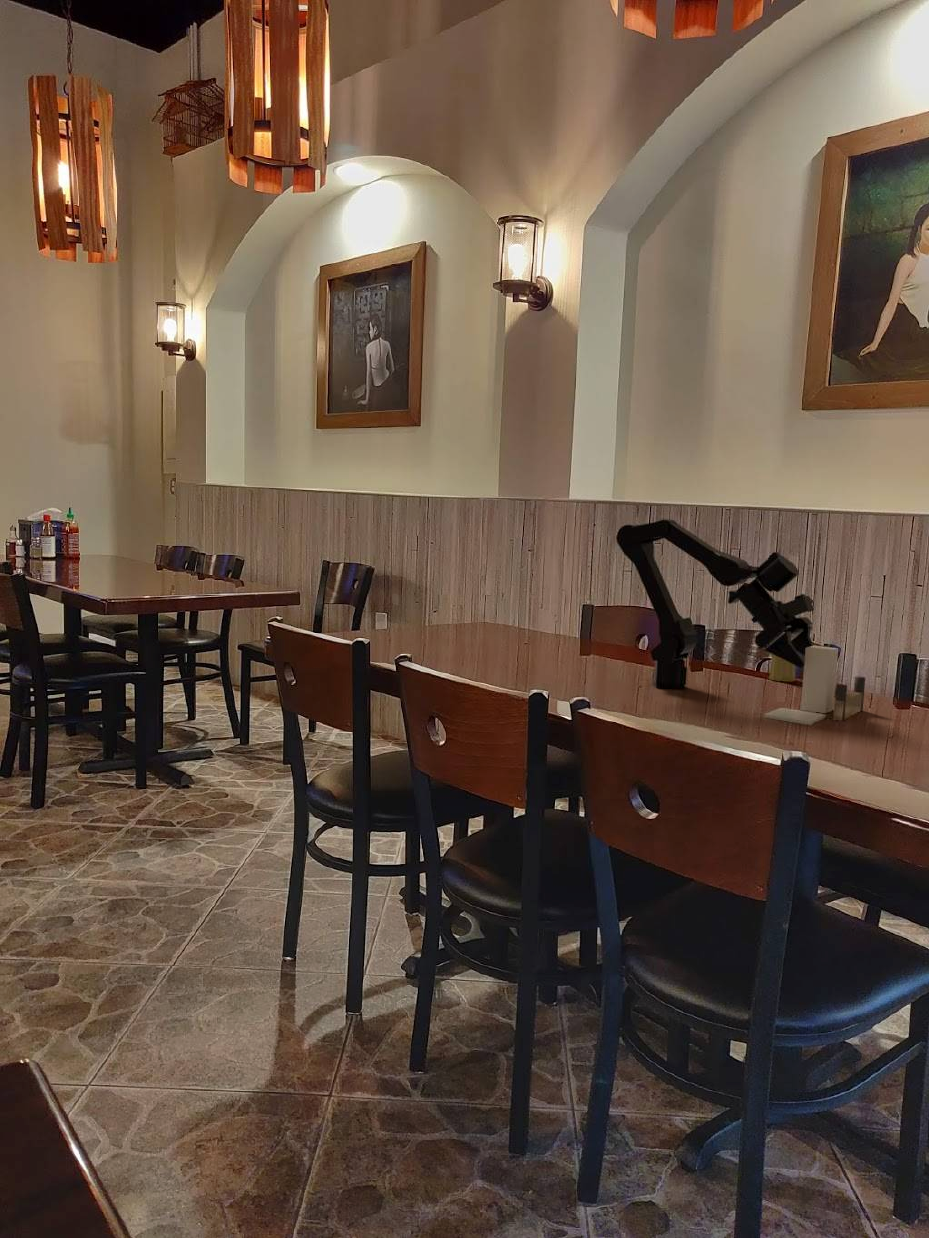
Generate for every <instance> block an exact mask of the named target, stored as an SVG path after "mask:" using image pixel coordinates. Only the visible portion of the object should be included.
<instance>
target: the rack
mask: <svg viewBox="0 0 929 1238" xmlns="http://www.w3.org/2000/svg"><path fill="white" fill-rule="evenodd" d="M853 685H854V686H853V691H852V692H850V693H847V692H848V685H847V684H839V683H837V684H835V696H834V708H833V717H832V718H833V721H836V720H839V721H838V722H844V721H845V720H847V719H849V718H851V717H852V716H851V715H853V714H855V713H857V712H859V713H861V712H860V711H862V712H863V710H864V700H865V686H866V677H864V676H854V684H853ZM857 714H858V713H857ZM855 715H856V714H855ZM850 716H851V717H850ZM853 716H854V715H853ZM848 717H849V718H848ZM846 718H847V719H846ZM844 719H845V720H844Z"/></svg>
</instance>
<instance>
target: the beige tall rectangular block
mask: <svg viewBox="0 0 929 1238" xmlns="http://www.w3.org/2000/svg"><path fill="white" fill-rule="evenodd" d="M838 657H839V648H837V647H829V646H820V645H814V646H810V647H807V648H806V649H805V656H804V661H803V662H804V664H805V665H804V666H803V674H802V675H803V676H802V689H801V703H800V711H806V712H812V713H816V712H821V713H820V714H822V713H827V712H829V713H830V711H831V712H833V711H834V704H835V695H836V683H837V682H836V681H837V669H838V659H839V658H838ZM832 710H833V711H832ZM827 714H828V713H827Z"/></svg>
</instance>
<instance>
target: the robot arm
mask: <svg viewBox="0 0 929 1238" xmlns="http://www.w3.org/2000/svg"><path fill="white" fill-rule="evenodd" d="M615 538H616V539H615V540H616V543H617V545H618V547H619V548H620V549H621V551H622V553H623V554H624V555H625V556H626V557H627V559H628V560H629V561H630V562H631V563H633V565H634V567H635V568H636V571H637V574H638V576H639V578H640V581H641V582H642V585H643V588H644V590H645V592H646V594H647V597H648V599H649V601H650V603H651V606H652V608H653V611H654V612H655V616H656V618H657V620H658V637H659V641H660V642H659V643H658V644H657V645H656V646H655V647H654V648H652V649H651V651H650V655H651V659H652V661H654V673H653V674H654V675H653V680H651V683H652V684H653V685H654V687H656V688H660V689H682V690H683V689H684V690H685V689H686V685H687V675H688V674H687V673H688V672H687V671H688V668H687V666H685V664H686V659H688V657H689V655H690V653H691V652H692V651H693V650H694V649H695V648H696V646H697V643H698V638H697V635H698V633H699V632H698V631H697V630H696V629H695V627H694V624H693V621H692V618H691V617H686V618H683V616H682V615H681V614H680V613H679V612H678V609H677V607H676V605H675V603H674V601H673V599H672V596H671V594H670V591H669V589H668V587H667V584H666V582H665V580H664V578H663V575H662V572H661V570H660V568H659V566H658V563H657V561H656V558H655V544H654V542H657V541H660V540H663V539H665V540H667V541H668V542H669V543H671V544H672V545H674V546H676V547H677V548H679V550H681V551H683V552H684V553H685V554H688V555H689V556H690V557H691V558H694V559H695V560H696V561H697V562H699V563H701V564H702V565H703V566H704V567H705V568H706V570H707V571H708V573H709V574H710V576H712V577H713V578H714V579H715V580H716V581H717V582H718V583H719V584H720V585H722V586H723V587H731V586H732V587H733V586H739V587H738V588H737V589H736V590H729V592H728V594H729V595H728V598H727V599H728V601H727V603H728V604H729V605H730V604H737V603H738V602H739V603H741V605H742V606H743V607H744V609H746V611H747V612H748V613H749V614H750V615H751V616H752V617H751V619H750V620H751V621H752V623H754V624H755V623H757V624H758V625H759V626H760V627H761V629H762V630H761V631H760V632H759V633H757V635H755V636H754V643H755V645H756V646H757V648H758V649H759V650H761V651H762V650H764V652H766V653H770V655H772V654H773V655H776V656H778V657H780V658H782V659H784V660H786V661H788V662H790V663H792V664H794V665H795V667H798V668H800V669H801V668H804V665H805V664H804V662H805V661H804V660H803V659H802V657H801V656H800V654H801V655H802V656H803V657H805V649H806V648H807V647H810V646H815V645H814V643H813V641H812V639H811V634H812V633H811V632H812V630H813V624H814V623H813V622H812V621H811V620H810V619H809V617H807V616H798V615H802V614H804V613H806V612H813V611H814V610H815V608H814V606H813V604H814V600H813V599H811V597H810V595H806V594H805V593H800V594H799V595H796V596H794V599H792V600H790V601H788V602H786V603H784V602H783V601H782V600H775V598H774V597H773V596H772V595H771V594H770V593H772V592H775V593H779V592H780V591H781V590H783V589H784V588H785V587H786V586H788V584H790V583H791V582H792V581H793V580H794V579H795V578H796V577H797V576H799V575H800V572H799V570H798V567H797V566H796V565H795V563H793V562H792V561H790V560H789V559H788V558H787V557H785V556H783V555H781V553H780V552H779V551H774V552H772V553H771V554H770V555H769V556H768V558H767V559H766V560H765V561H764V562H762V563H761V565H759V566H753V565H749V563H748V562H747V561H746V560H744V559H742V558H740V557H737V556H735V555H734V554H733V555H732V554H731V553H730V554H729V553H726V552H723V551H721V550H718V549H716V548H715V547H713V546H712V545H710V544H709V543H707V542H706V541H705V540H703V539H701V538H700V537H698V536H697V535H695V534H694V533H692V532H691V531H689V530H688V529H686V528H685V527H683V526H681V525H680V524H679V523H677V521H675V520H674V519H669V518H668V519H667V518H666V519H659V520H658V521H654V522H648V523H645V524H644V523H643V524H625V525H622V526H621V527H620V528H619V529H618V531H617V533H616V536H615ZM749 579H753V580H752V581H751V582H750V583H748V582H747V581H748V580H749ZM769 592H770V593H769ZM797 616H798V617H797Z"/></svg>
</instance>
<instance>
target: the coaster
mask: <svg viewBox="0 0 929 1238" xmlns="http://www.w3.org/2000/svg"><path fill="white" fill-rule="evenodd" d="M825 717H826V718H827V715H826V714H822V713H816V712H810V711H803V710H801V709H794V708H793V709H792V708H786V707H779V708H777V709H775V710H772V711H769V712H767V713H765V714H764V718H766V719H772V720H778V721H783V722H788V723H790V722H791V723H796V724H800V725H801V724H802V725H806V726H812V725H814V724H816V723H818V722H820V721H822V720H824V719H826V718H825ZM815 722H816V723H815ZM813 723H814V724H813Z"/></svg>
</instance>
